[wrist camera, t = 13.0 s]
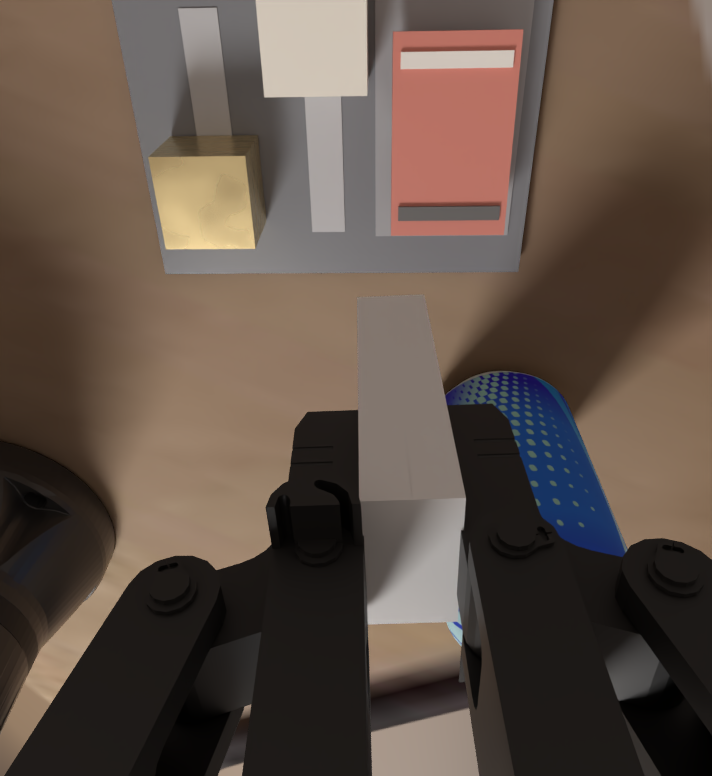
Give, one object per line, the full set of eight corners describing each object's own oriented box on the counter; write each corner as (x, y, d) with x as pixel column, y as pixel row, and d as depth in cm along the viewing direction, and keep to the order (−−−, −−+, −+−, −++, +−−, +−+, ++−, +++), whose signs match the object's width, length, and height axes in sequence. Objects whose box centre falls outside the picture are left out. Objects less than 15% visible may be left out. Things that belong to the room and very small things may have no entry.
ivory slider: (275, 81, 28) (264, 97, 25) (267, -28, 26) (253, -25, 23) (368, 80, 28) (367, 95, 25) (367, -30, 26) (366, -27, 23)
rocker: (390, 229, 30) (391, 236, 29) (392, 31, 26) (393, 32, 25) (500, 228, 30) (504, 235, 29) (518, 29, 26) (524, 29, 25)
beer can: (447, 484, 43) (478, 727, 29) (407, 383, 38) (423, 615, 25) (577, 451, 41) (673, 694, 28) (551, 341, 36) (649, 567, 23)
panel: (170, 265, 34) (159, 284, 33) (109, -55, 27) (89, -55, 25) (514, 263, 34) (522, 282, 32) (556, -65, 26) (569, -66, 24)
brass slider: (184, 221, 32) (165, 249, 29) (170, 135, 30) (148, 157, 27) (266, 221, 32) (255, 248, 29) (258, 135, 30) (245, 155, 27)
